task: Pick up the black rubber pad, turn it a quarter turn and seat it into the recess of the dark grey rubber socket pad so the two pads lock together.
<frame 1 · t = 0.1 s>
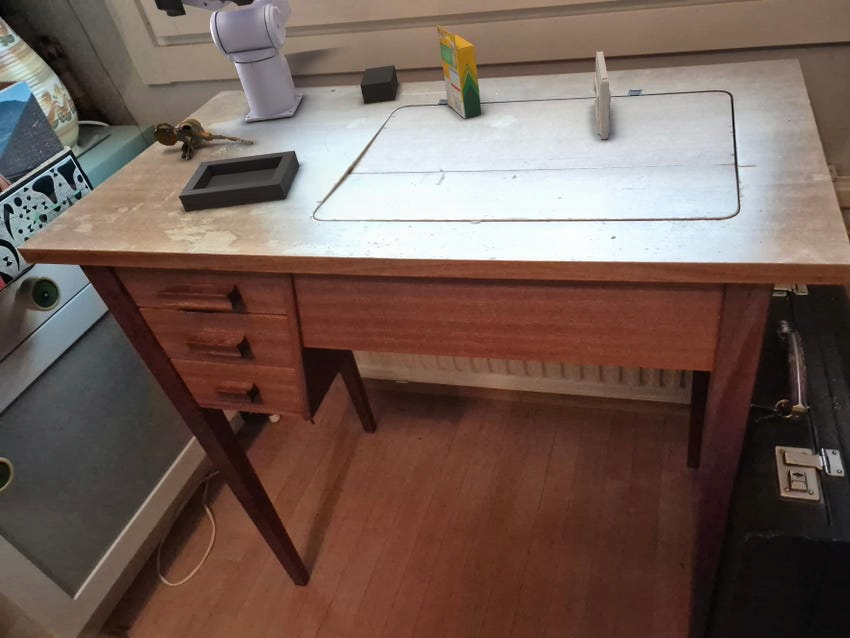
regulator: (207, 148, 101), on the table
black pad: (381, 93, 110), on the table
crayon box: (465, 110, 100), on the table
socket pad: (244, 187, 88), on the table
cassette: (601, 123, 91), on the table
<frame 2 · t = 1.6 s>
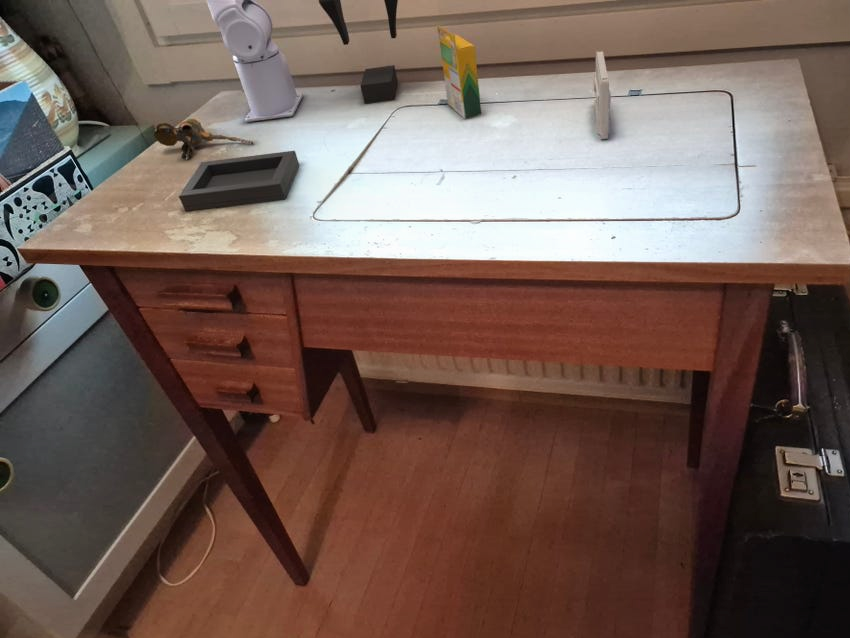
hand: (370, 39, 104), 8 cm above the table, tool pointing down, fingers open, 7 cm apart
nothing on the table moved.
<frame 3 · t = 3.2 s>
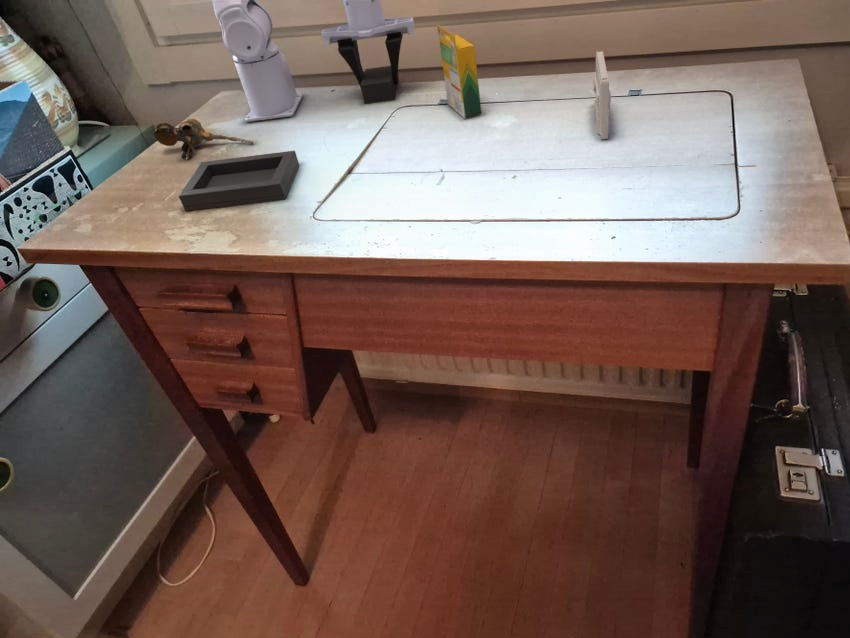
hand: (379, 84, 109), 1 cm above the table, tool pointing down, fingers closed on black pad, 5 cm apart
black pad: (381, 93, 110), on the table, touching gripper
everything else where it was.
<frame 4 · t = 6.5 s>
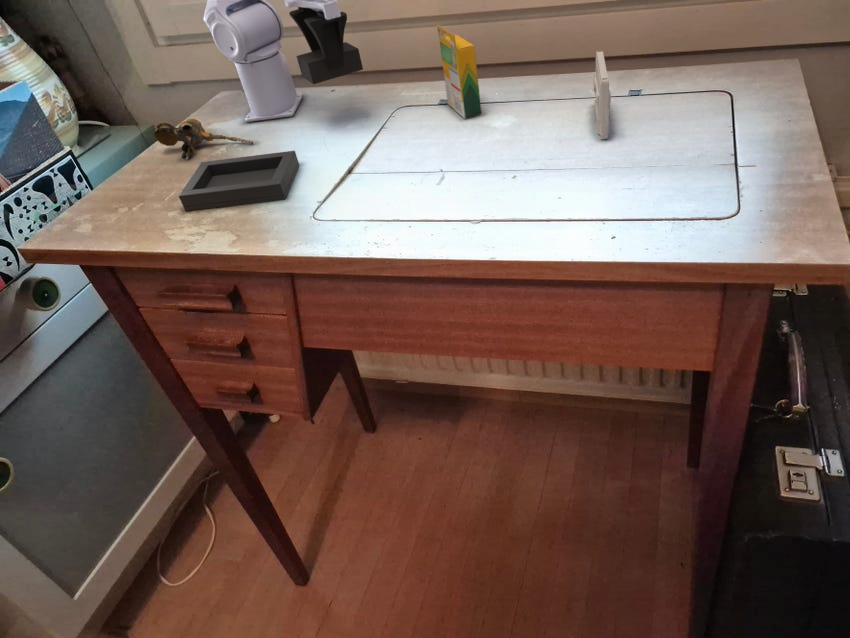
hand: (329, 63, 98), 8 cm above the table, tool pointing down, fingers closed on black pad, 5 cm apart
black pad: (332, 73, 99), point 7 cm above the table, touching gripper
everything else where it was.
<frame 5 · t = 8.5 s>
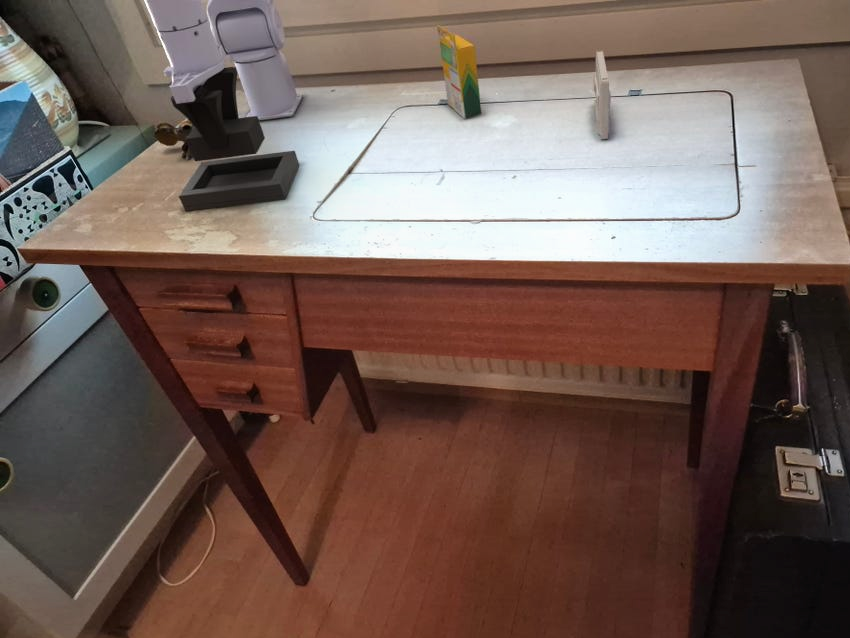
hand: (226, 139, 84), 7 cm above the table, tool pointing down, fingers closed on black pad, 5 cm apart
black pad: (230, 149, 85), point 5 cm above the table, touching gripper
everything else where it was.
when the fingers open (2 cm above the table, at t = 10.3 s): black pad stays where it is, resting on socket pad.
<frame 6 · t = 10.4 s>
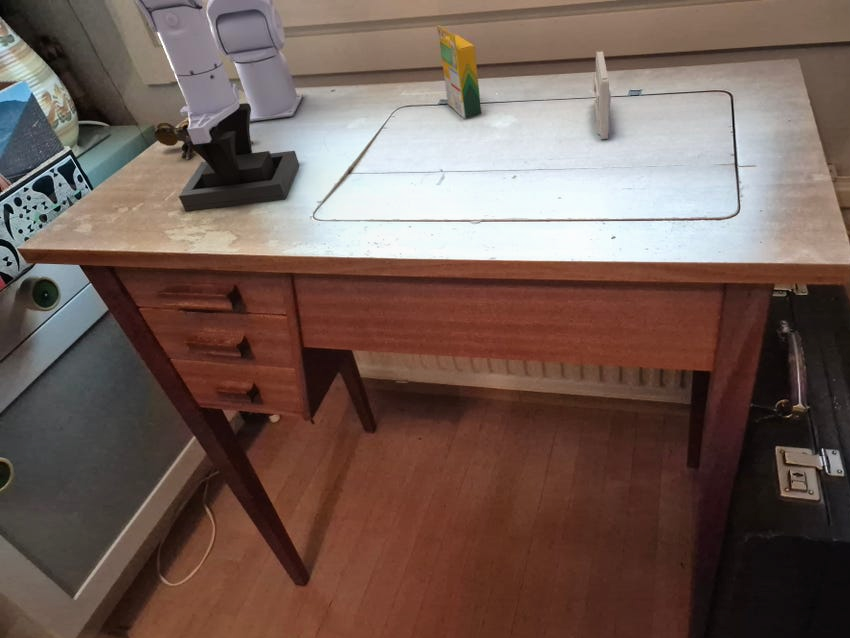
hand: (239, 173, 87), 2 cm above the table, tool pointing down, fingers open, 6 cm apart
black pad: (243, 183, 88), point 1 cm above the table, touching socket pad
everything else where it was.
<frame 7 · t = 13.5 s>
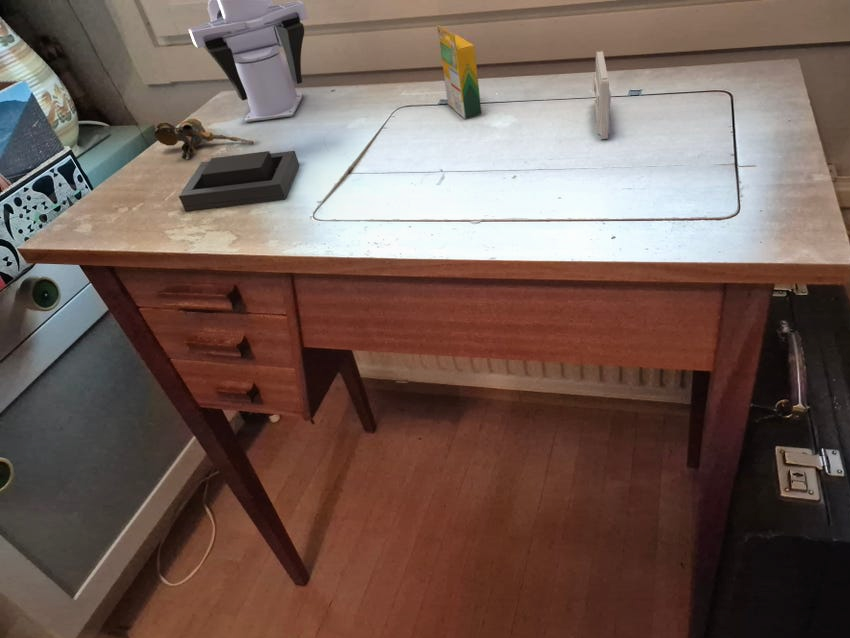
hand: (270, 89, 88), 9 cm above the table, tool pointing down, fingers open, 7 cm apart
nothing on the table moved.
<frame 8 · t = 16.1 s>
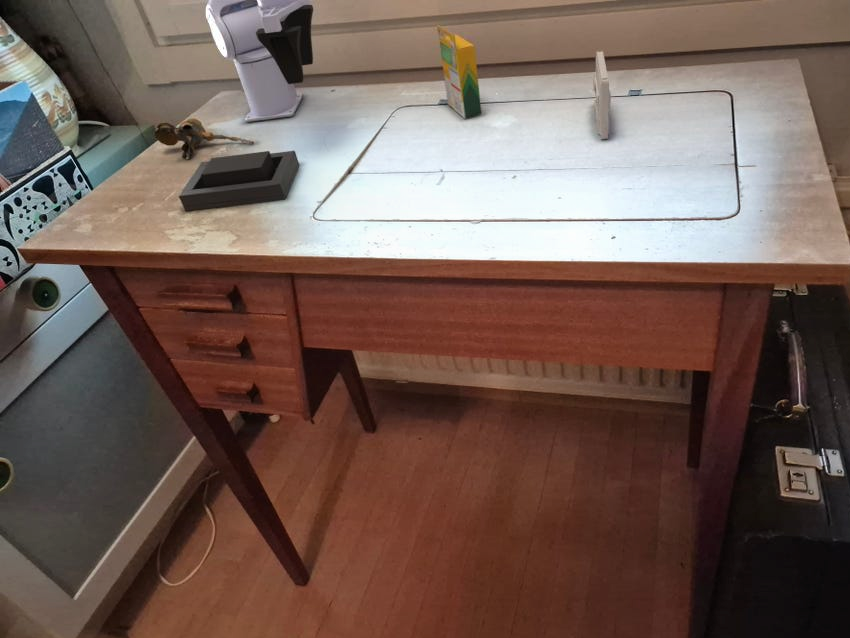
hand: (300, 73, 92), 9 cm above the table, tool pointing down, fingers open, 7 cm apart
nothing on the table moved.
at the end: black pad 0.1 cm off-centre in the socket pad, point 0.6 cm above the socket pad's base; black pad tilted 0°; the gripper is holding nothing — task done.
